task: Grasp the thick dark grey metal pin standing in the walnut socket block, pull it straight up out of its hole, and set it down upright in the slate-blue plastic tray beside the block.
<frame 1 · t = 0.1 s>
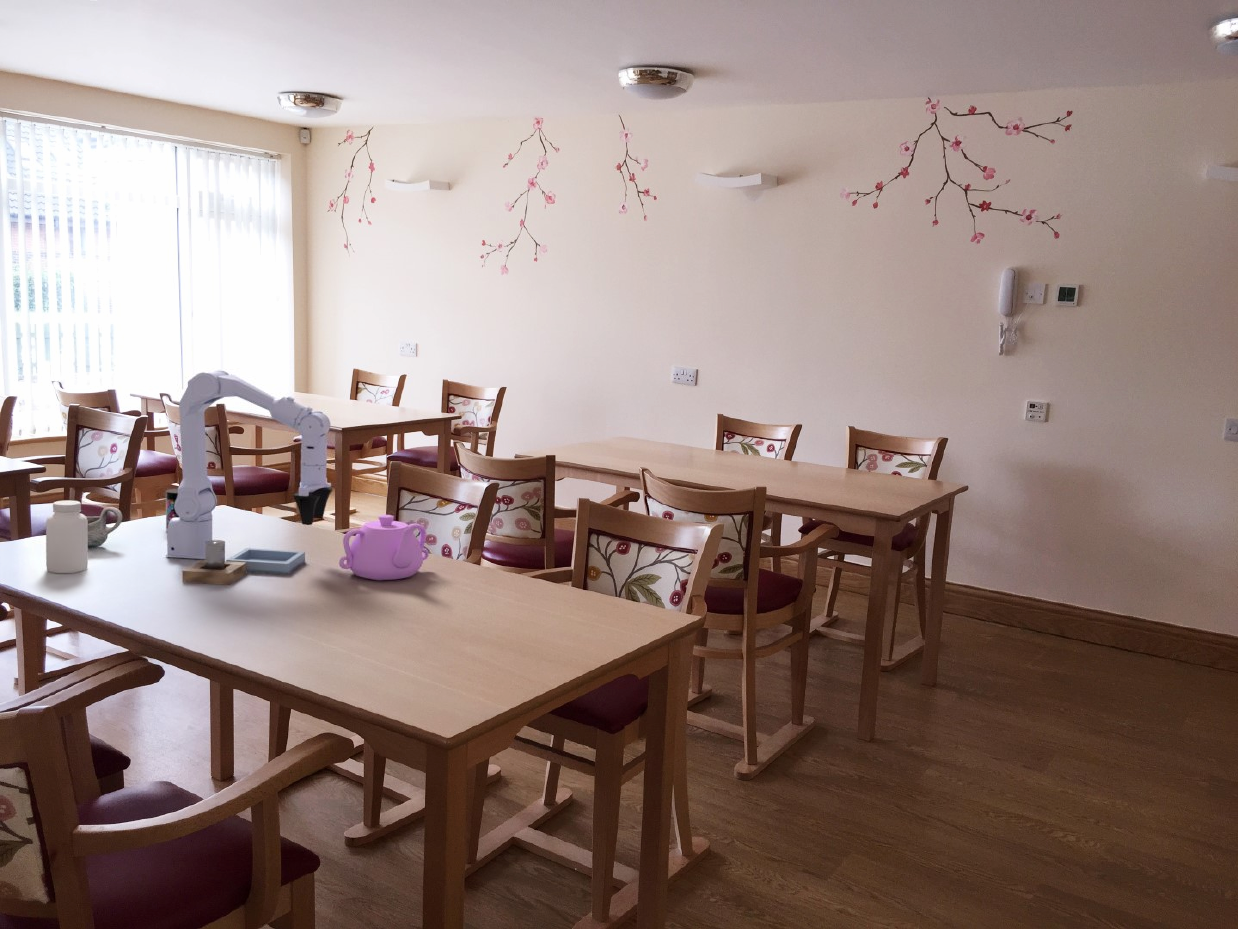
hand: (312, 521, 236), 10 cm above the table, fingers open, 7 cm apart
tray: (266, 566, 232), on the table
pill bottle: (67, 570, 219), on the table
mug: (93, 548, 239), on the table
supplement container: (179, 530, 263), on the table
socket block: (215, 577, 220), on the table
pink lidded pot: (389, 577, 230), on the table
pin: (215, 559, 220), in the socket block
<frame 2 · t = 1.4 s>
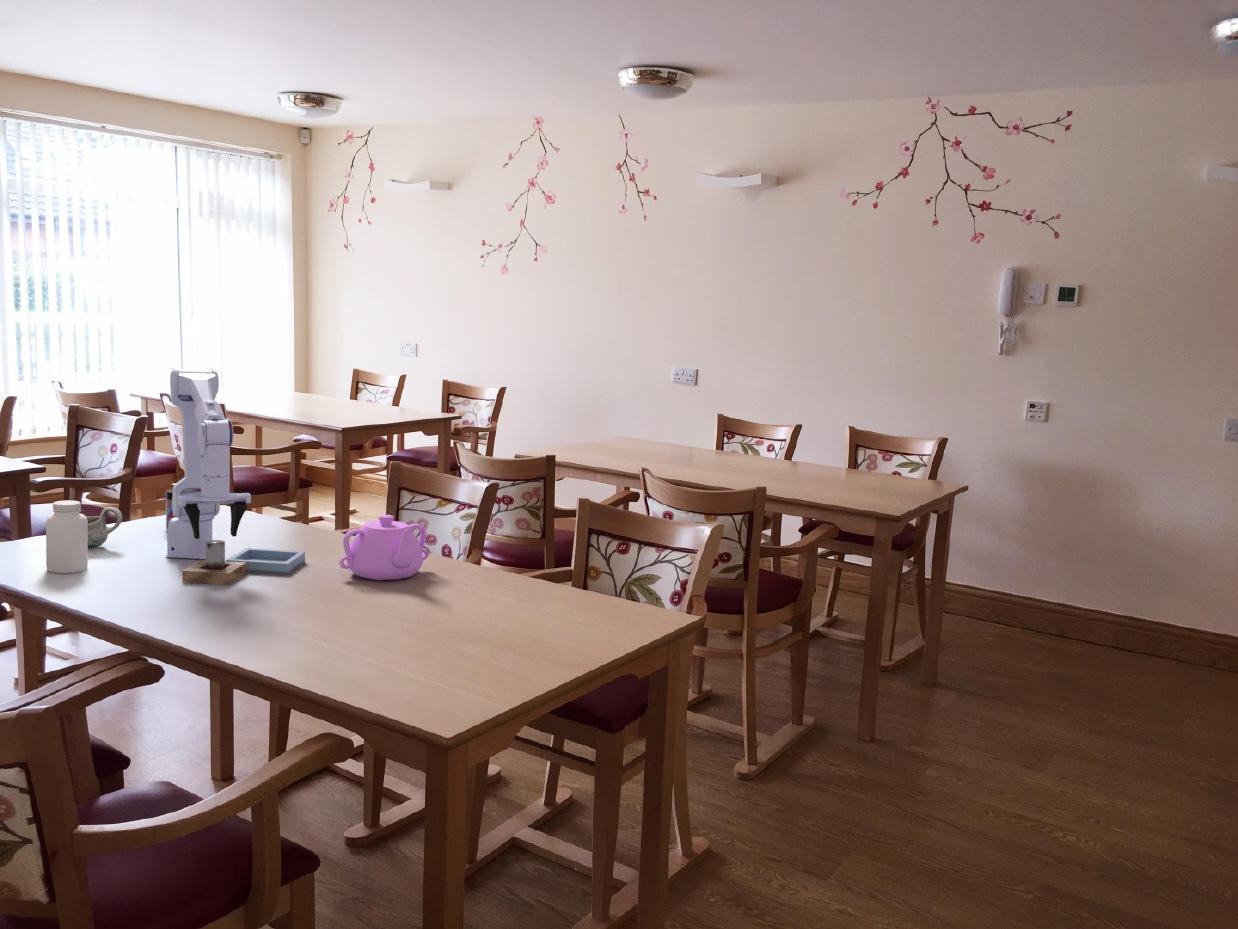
hand: (215, 536, 219), 9 cm above the table, fingers open, 7 cm apart
nothing on the table moved.
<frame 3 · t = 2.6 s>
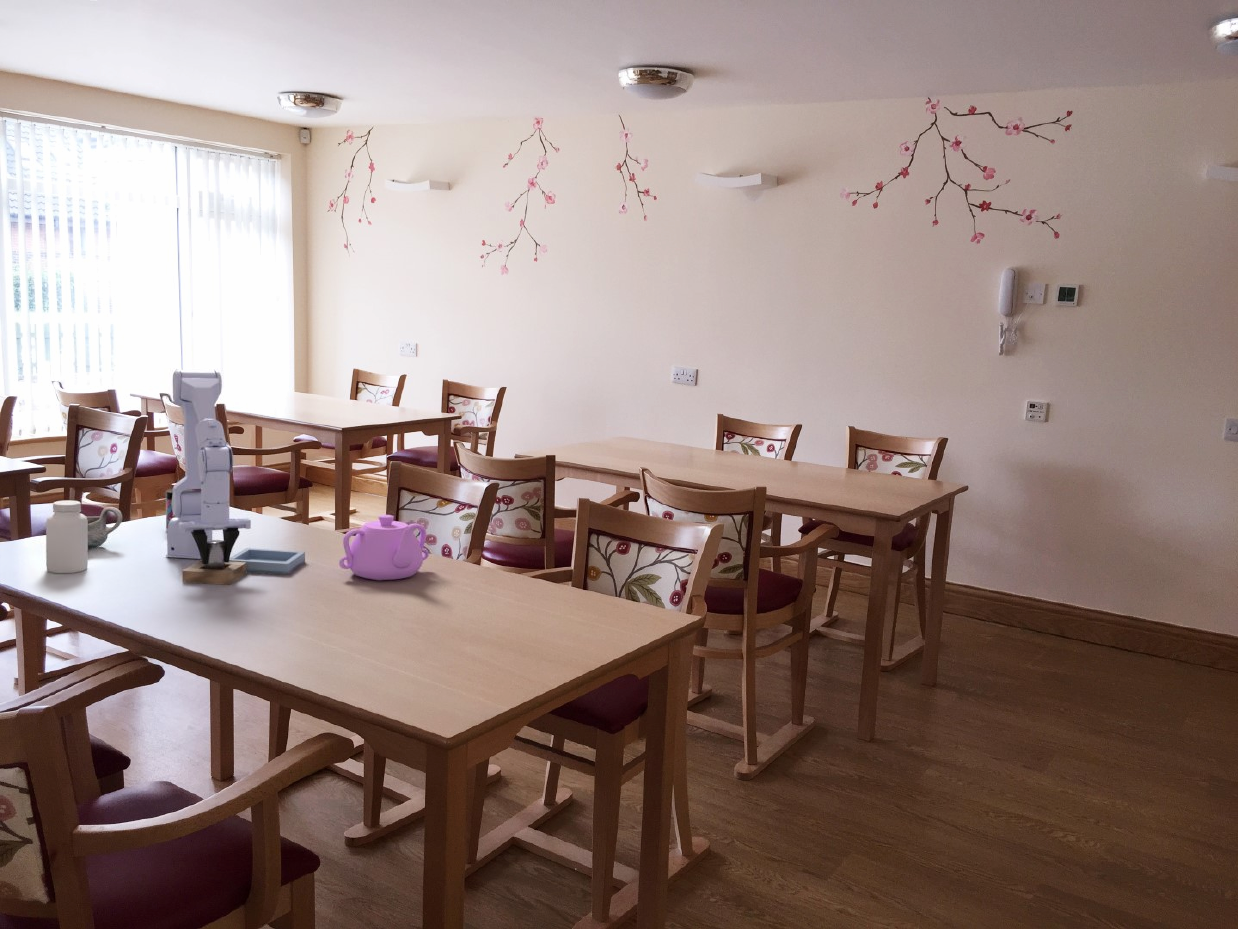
hand: (215, 562, 220), 3 cm above the table, fingers closed on pin, 4 cm apart
pin: (215, 559, 220), in the socket block, touching gripper
everything else where it was.
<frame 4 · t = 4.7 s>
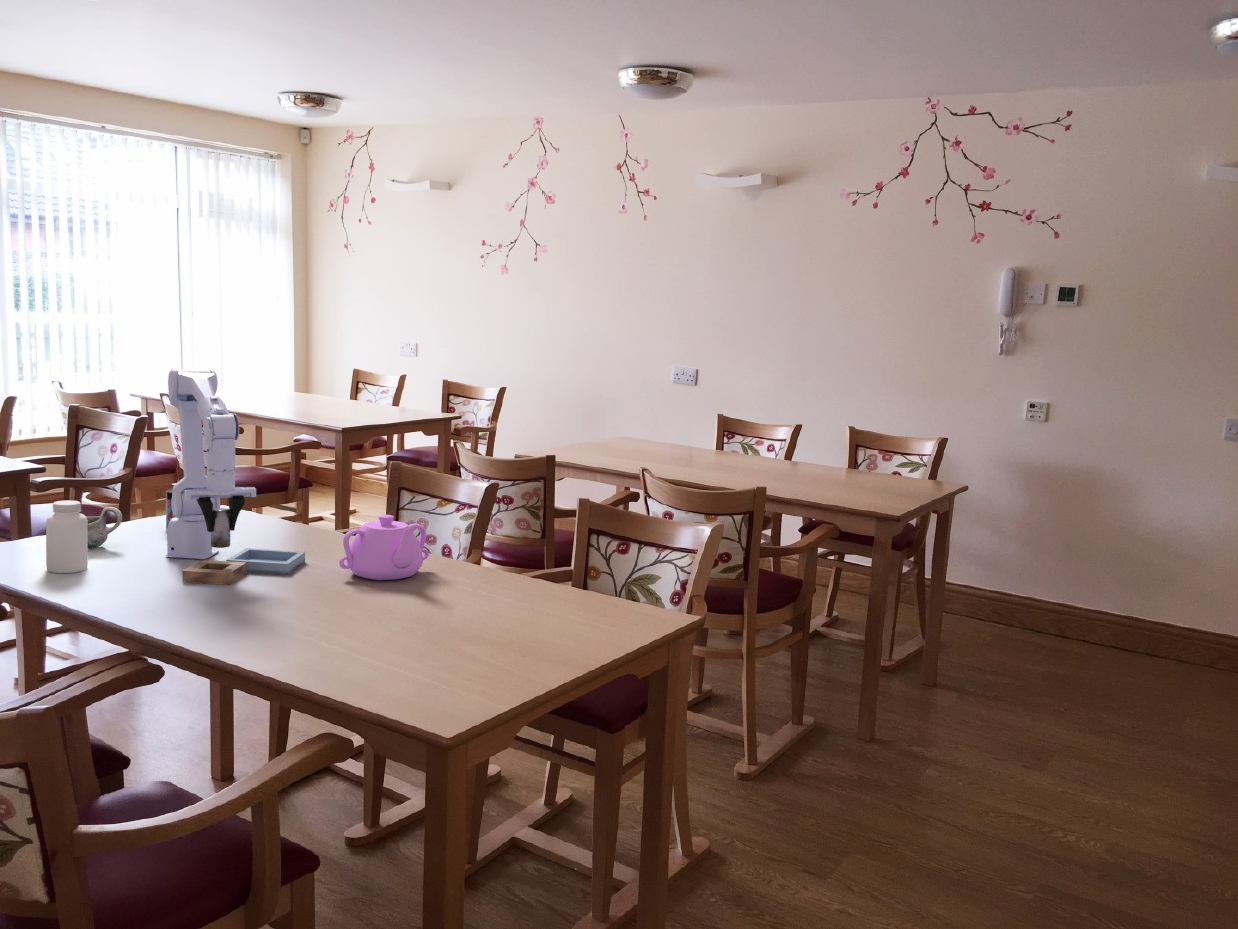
hand: (220, 530, 220), 10 cm above the table, fingers closed on pin, 4 cm apart
pin: (220, 527, 220), point 11 cm above the table, touching gripper
everything else where it was.
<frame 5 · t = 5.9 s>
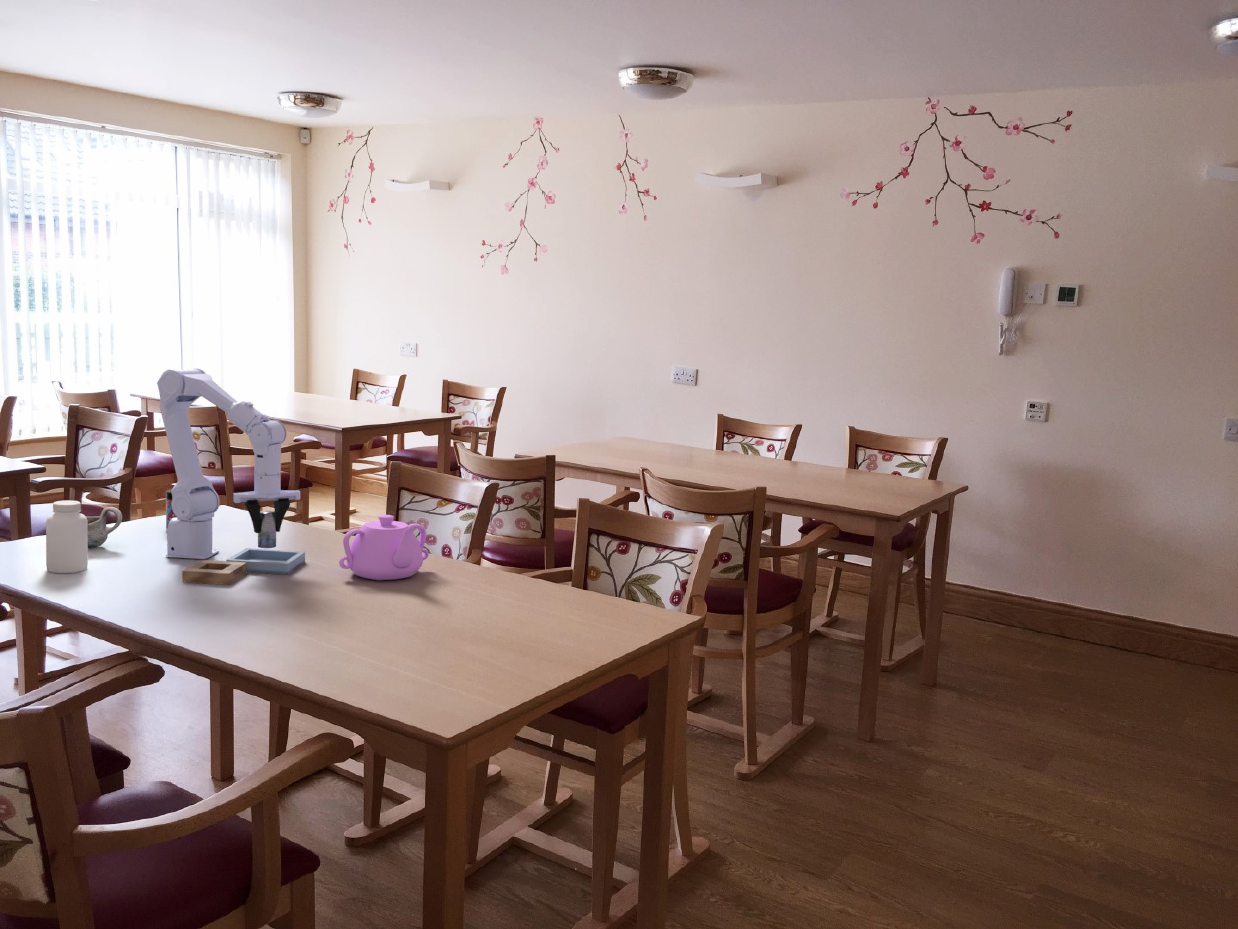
hand: (267, 531, 231), 8 cm above the table, fingers closed on pin, 4 cm apart
pin: (267, 529, 231), point 9 cm above the table, touching gripper
everything else where it was.
when the fingers open (5 cm above the table, at t = 6.8 s): pin drops 1 cm, resting on tray.
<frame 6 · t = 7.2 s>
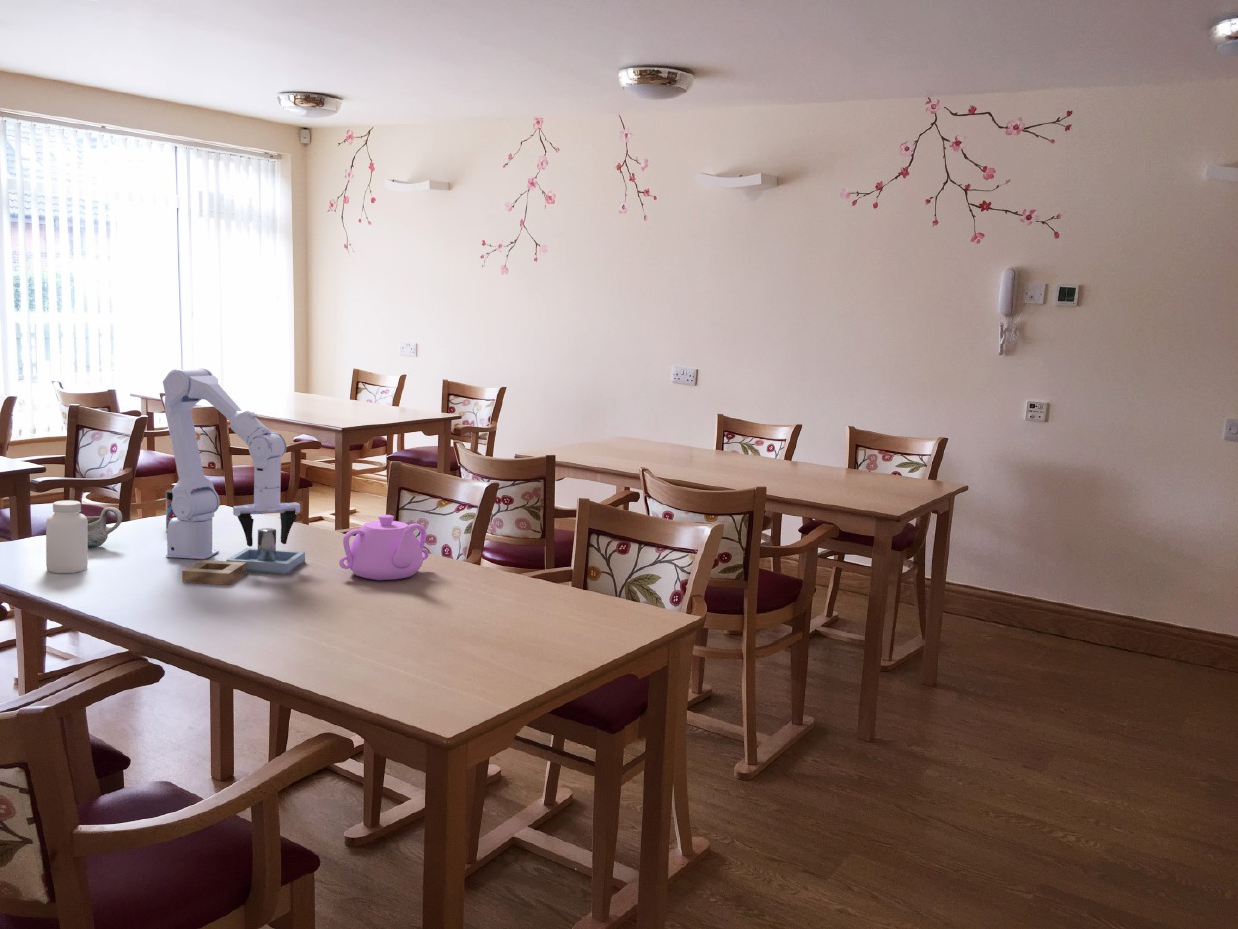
hand: (266, 544, 231), 5 cm above the table, fingers open, 7 cm apart
pin: (266, 547, 231), in the tray, point 5 cm above the table
everything else where it was.
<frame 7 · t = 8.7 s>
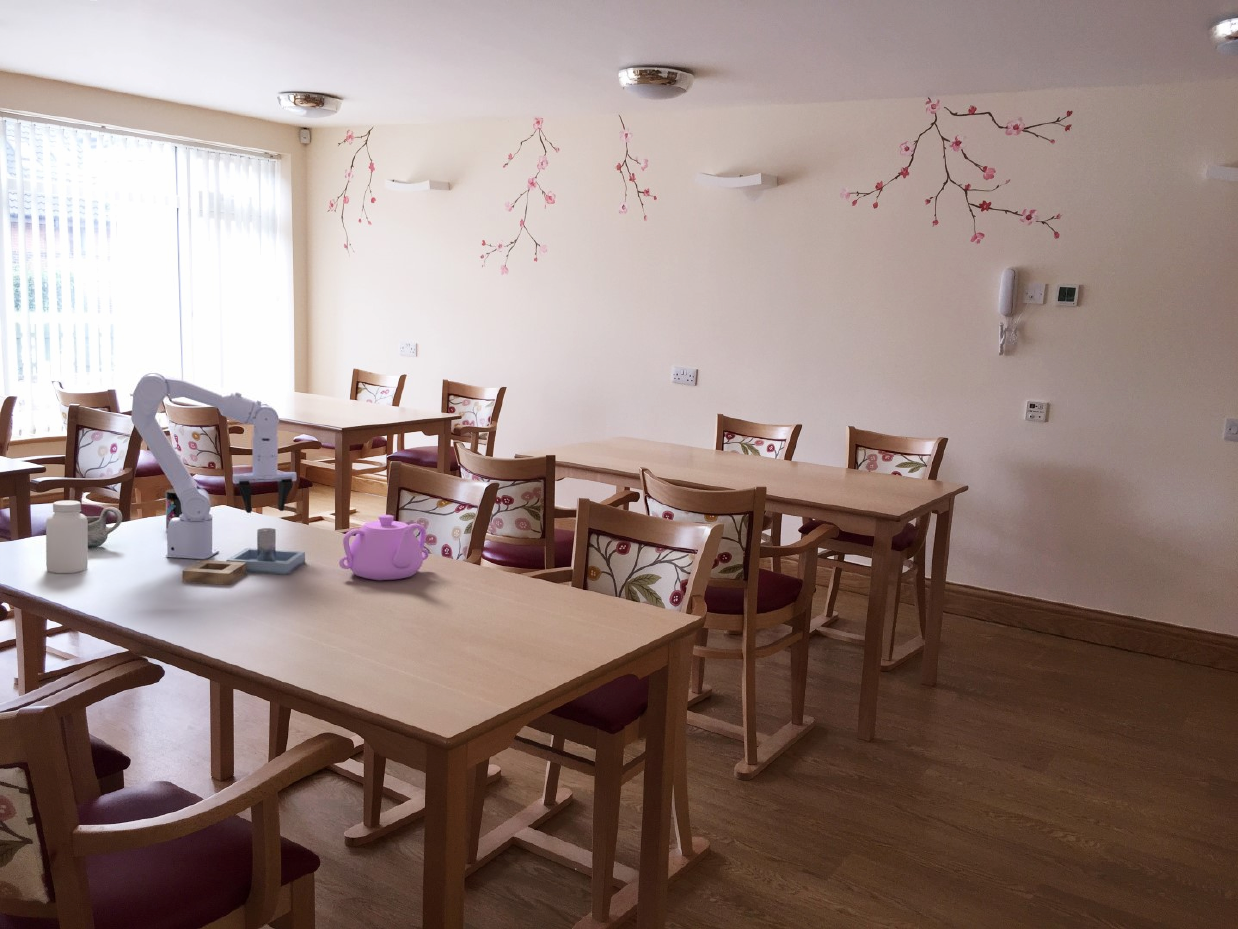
hand: (264, 511, 243), 10 cm above the table, fingers open, 7 cm apart
nothing on the table moved.
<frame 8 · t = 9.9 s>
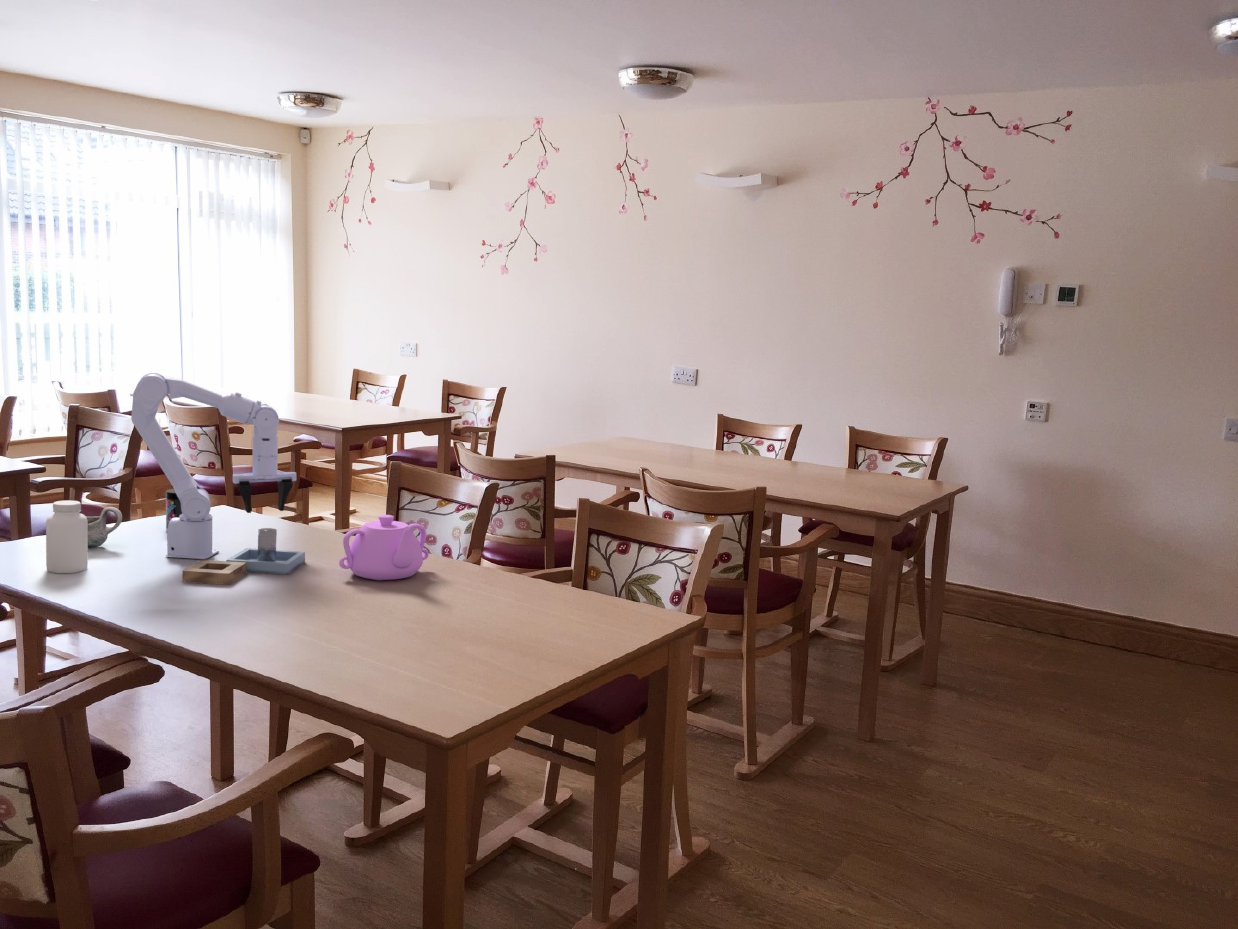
hand: (264, 511, 243), 10 cm above the table, fingers open, 7 cm apart
nothing on the table moved.
at the end: pin inside the target area on the tray (0.1 cm from its centre), point 4.6 cm above the tray's base; the gripper is holding nothing; pin touching tray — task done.
